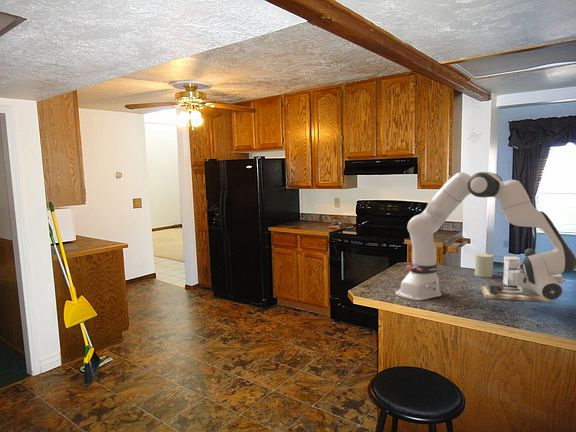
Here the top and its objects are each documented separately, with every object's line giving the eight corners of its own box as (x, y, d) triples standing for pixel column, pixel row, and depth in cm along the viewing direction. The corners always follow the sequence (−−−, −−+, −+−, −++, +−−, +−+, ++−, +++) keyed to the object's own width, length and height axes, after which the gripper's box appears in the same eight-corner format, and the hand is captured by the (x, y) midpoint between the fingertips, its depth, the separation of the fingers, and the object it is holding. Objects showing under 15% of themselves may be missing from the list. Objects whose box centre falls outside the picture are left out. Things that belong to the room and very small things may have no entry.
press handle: (531, 288, 186) (533, 246, 184) (536, 293, 179) (539, 250, 176) (517, 287, 188) (519, 246, 186) (522, 292, 181) (524, 249, 178)
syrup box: (514, 283, 204) (515, 255, 202) (519, 286, 198) (520, 258, 196) (502, 283, 205) (503, 255, 203) (507, 286, 199) (508, 258, 197)
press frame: (540, 292, 188) (540, 281, 188) (550, 302, 175) (550, 290, 174) (480, 288, 196) (480, 278, 195) (485, 298, 182) (486, 286, 182)
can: (496, 276, 217) (497, 255, 215) (481, 277, 215) (482, 256, 214) (485, 272, 226) (486, 251, 224) (471, 273, 224) (471, 252, 223)
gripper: (568, 274, 164) (556, 266, 177) (513, 272, 170) (505, 264, 183) (567, 289, 165) (555, 280, 178) (512, 286, 171) (505, 277, 184)
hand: (529, 272), depth 181 cm, fingers open, 8 cm apart
